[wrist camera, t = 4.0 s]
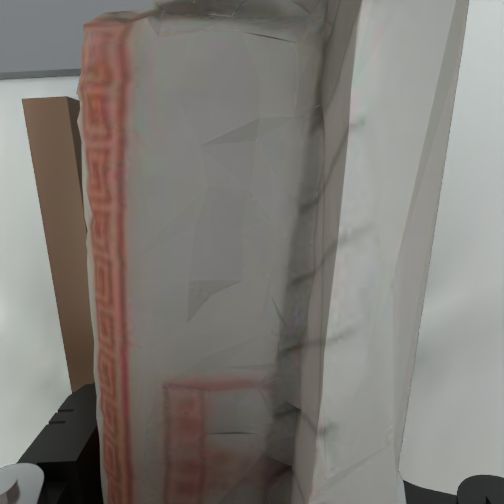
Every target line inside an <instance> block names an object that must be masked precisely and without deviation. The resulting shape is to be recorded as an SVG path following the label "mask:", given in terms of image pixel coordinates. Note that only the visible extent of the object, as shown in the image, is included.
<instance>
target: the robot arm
mask: <svg viewBox="0 0 504 504" xmlns="http://www.w3.org/2000/svg"><path fill="white" fill-rule="evenodd" d="M96 406H97V394H96V387H95V381H94V382H93V384H85V385H84V386H82V387H81V388H79V389H78V390H77V391H75V392H74V393H72V394H71V395H70V396H68V398H67V399H66V400H65V401H64V403H63V404H62V405H61V407H60V408H59V409H58V413H55V414H54V416H53V417H52V418H51V419H50V421H49V424H48V425H46V426H45V427H44V429H43V430H42V431H41V432H40V434H39V435H38V436H37V438H36V439H35V440H34V441H33V443H32V444H31V445H30V447H29V448H28V449H27V450H26V452H25V453H24V454H23V456H22V457H21V458H20V459H19V461H18V462H17V463H16V464H12V465H8V466H5V467H2V468H0V504H104V502H103V494H102V486H101V473H100V440H99V432H98V425H97V419H96ZM396 485H397V501H398V504H504V478H502V477H498V476H492V475H475V476H472V477H469V478H467V479H465V480H464V481H463V482H461V484H460V485H459V487H458V491H457V496H456V495H452V494H447V493H443V492H438V491H434V490H429V489H425V488H422V487H418V486H416V485H413V484H411V483H409V482H407V481H405V480H403V479H402V477H401V475H400V473H399V471H398V472H397V478H396Z"/></svg>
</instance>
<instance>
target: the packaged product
mask: <svg viewBox="0 0 504 504" xmlns="http://www.w3.org/2000/svg"><path fill="white" fill-rule="evenodd" d="M468 5H469V0H154V1H153V3H152V5H151V6H150V8H149V9H140V10H129V11H118V12H108V13H103V14H101V15H99V16H97V17H96V18H94V19H92V20H90V21H89V22H87V23H85V24H83V35H84V42H83V45H82V61H81V74H80V79H79V84H78V89H77V95H78V97H79V99H80V112H79V116H78V119H77V123H78V128H79V132H80V136H81V141H82V187H83V203H84V217H85V221H86V226H87V230H88V232H87V239H86V246H87V251H88V253H87V271H88V286H89V299H90V311H91V321H92V328H93V335H94V370H93V372H94V380H95V387H96V394H97V406H96V419H97V425H98V432H99V440H100V473H101V486H102V494H103V502H104V504H398V501H397V485H396V478H397V472H398V465H399V459H400V452H401V446H402V439H403V433H404V426H405V420H406V413H407V407H408V400H409V394H410V387H411V381H412V374H413V367H414V361H415V354H416V348H417V341H418V335H419V328H420V322H421V315H422V309H423V302H424V296H425V289H426V283H427V276H428V270H429V263H430V257H431V250H432V244H433V237H434V231H435V224H436V218H437V211H438V204H439V198H440V191H441V185H442V178H443V172H444V165H445V159H446V152H447V146H448V139H449V133H450V126H451V120H452V113H453V107H454V100H455V94H456V87H457V81H458V74H459V68H460V61H461V55H462V48H463V42H464V35H465V28H466V20H467V13H468Z"/></svg>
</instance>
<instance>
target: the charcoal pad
mask: <svg viewBox="0 0 504 504" xmlns="http://www.w3.org/2000/svg"><path fill="white" fill-rule="evenodd" d="M153 1H154V0H0V79H16V78H34V77H53V76H71V75H80V74H81V61H82V45H83V42H84V35H83V24H85V23H87V22H89V21H90V20H92V19H94V18H96V17H97V16H99V15H101V14H103V13H108V12H118V11H129V10H140V9H149V8H150V6H151V5H152V3H153Z"/></svg>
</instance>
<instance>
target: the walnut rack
mask: <svg viewBox="0 0 504 504" xmlns="http://www.w3.org/2000/svg"><path fill="white" fill-rule="evenodd" d="M22 103H23V109H24V115H25V121H26V127H27V133H28V138H29V144H30V150H31V156H32V162H33V168H34V173H35V179H36V185H37V191H38V197H39V203H40V208H41V214H42V220H43V226H44V232H45V238H46V244H47V249H48V255H49V261H50V267H51V273H52V279H53V284H54V290H55V296H56V302H57V308H58V314H59V319H60V325H61V331H62V337H63V343H64V349H65V354H66V360H67V366H68V372H69V378H70V384H71V389H72V393H74V392H75V391H77V390H78V389H79V388H81V387H82V386H84V385H85V384H93V382H94V381H95V380H94V372H93V370H94V335H93V328H92V321H91V311H90V299H89V286H88V271H87V253H88V251H87V246H86V239H87V232H88V230H87V226H86V221H85V217H84V203H83V187H82V141H81V136H80V132H79V128H78V123H77V119H78V116H79V112H80V101H78V100H75V99H72V98H69V97H67V96H66V97H48V98H29V99H22Z"/></svg>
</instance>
